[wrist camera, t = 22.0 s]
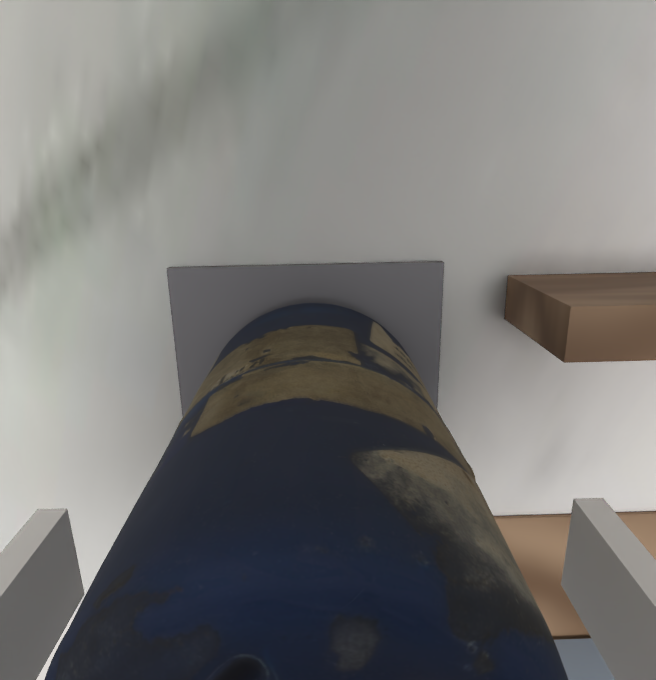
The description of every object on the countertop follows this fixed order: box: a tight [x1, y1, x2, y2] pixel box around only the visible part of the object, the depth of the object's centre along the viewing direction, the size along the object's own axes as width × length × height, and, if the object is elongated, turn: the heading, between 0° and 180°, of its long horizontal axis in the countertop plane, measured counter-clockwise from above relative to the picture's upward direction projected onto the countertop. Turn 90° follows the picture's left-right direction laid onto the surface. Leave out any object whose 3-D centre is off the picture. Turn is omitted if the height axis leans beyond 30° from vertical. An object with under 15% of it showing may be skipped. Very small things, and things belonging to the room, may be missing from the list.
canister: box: [45, 303, 568, 680], centre depth 16 cm, size 10×10×18 cm
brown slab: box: [494, 272, 656, 640], centre depth 24 cm, size 23×12×6 cm, turn 1°
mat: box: [167, 261, 444, 417], centre depth 25 cm, size 12×12×1 cm
